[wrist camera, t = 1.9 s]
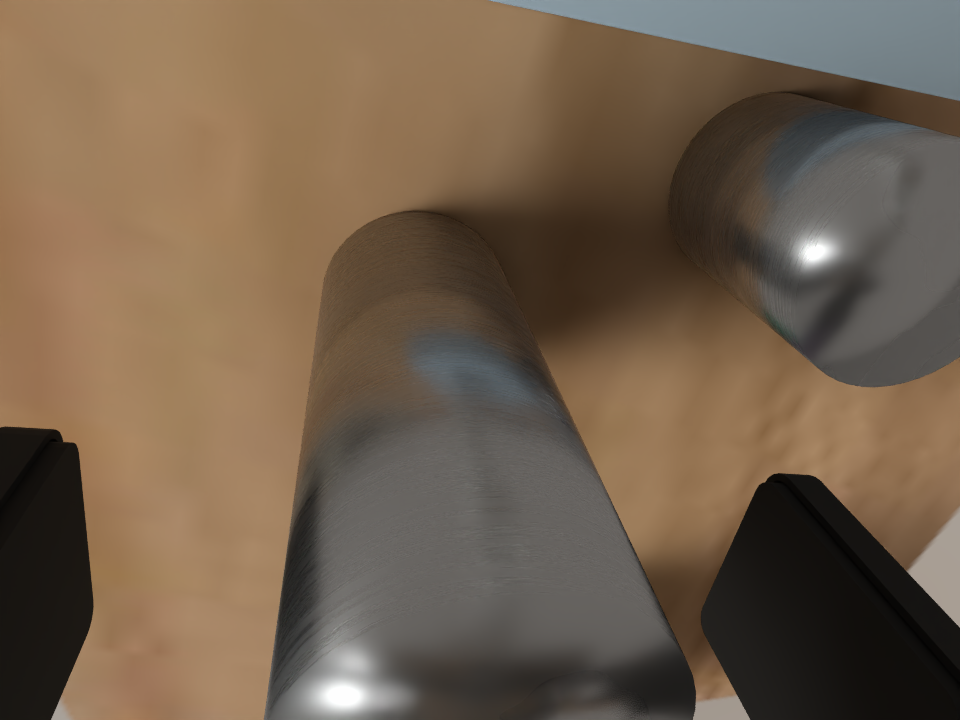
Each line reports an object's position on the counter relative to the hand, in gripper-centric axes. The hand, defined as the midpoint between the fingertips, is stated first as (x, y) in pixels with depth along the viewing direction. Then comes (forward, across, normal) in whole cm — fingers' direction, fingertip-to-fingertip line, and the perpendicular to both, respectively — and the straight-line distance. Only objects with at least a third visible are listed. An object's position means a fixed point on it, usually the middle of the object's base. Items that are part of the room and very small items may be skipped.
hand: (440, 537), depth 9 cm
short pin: (+6, -7, -4) cm, 10 cm away
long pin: (+7, 0, -1) cm, 7 cm away
